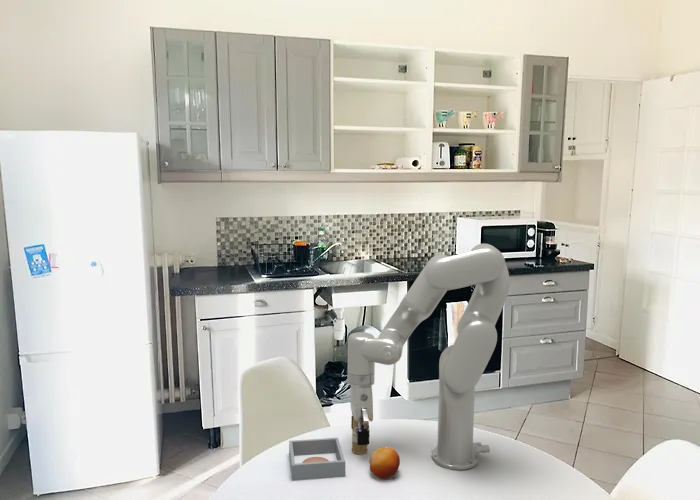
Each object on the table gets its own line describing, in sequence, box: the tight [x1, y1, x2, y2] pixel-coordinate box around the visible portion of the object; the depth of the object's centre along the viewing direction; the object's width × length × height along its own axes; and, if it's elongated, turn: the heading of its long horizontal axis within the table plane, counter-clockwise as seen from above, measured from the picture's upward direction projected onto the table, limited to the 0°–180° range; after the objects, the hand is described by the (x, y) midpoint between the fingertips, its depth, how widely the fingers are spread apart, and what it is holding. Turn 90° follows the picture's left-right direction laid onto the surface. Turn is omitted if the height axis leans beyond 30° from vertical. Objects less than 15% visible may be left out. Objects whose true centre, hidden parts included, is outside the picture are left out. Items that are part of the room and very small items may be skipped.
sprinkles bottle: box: [351, 410, 368, 455], centre depth 147 cm, size 5×5×13 cm
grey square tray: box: [288, 437, 346, 481], centre depth 139 cm, size 14×14×4 cm
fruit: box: [368, 446, 401, 480], centre depth 135 cm, size 8×8×8 cm
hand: (360, 436), depth 147 cm, fingers open, 9 cm apart
